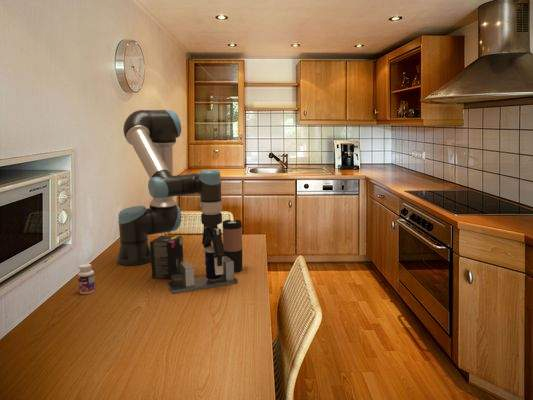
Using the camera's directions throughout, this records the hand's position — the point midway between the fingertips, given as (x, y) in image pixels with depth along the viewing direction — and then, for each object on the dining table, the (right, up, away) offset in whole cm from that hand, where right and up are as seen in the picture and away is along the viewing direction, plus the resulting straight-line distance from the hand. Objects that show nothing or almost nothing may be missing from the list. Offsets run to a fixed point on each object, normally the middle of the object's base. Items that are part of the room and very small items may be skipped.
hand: (213, 269), depth 172 cm
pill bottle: (-44, -7, -6) cm, 45 cm away
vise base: (-4, -5, -1) cm, 7 cm away
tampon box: (-19, -4, +11) cm, 22 cm away
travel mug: (+6, -3, +15) cm, 17 cm away
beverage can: (0, -4, +1) cm, 4 cm away
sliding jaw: (-11, -5, -4) cm, 13 cm away
